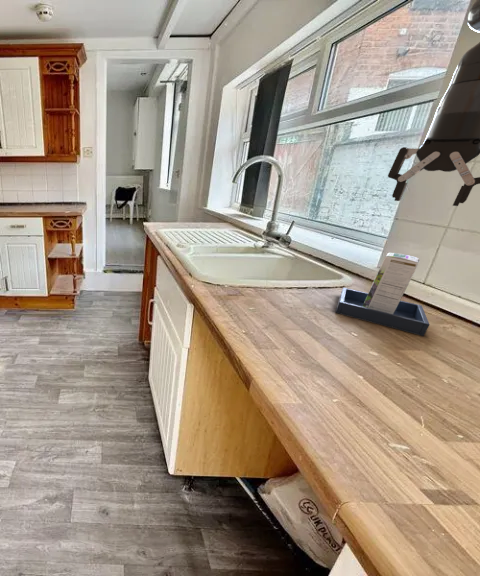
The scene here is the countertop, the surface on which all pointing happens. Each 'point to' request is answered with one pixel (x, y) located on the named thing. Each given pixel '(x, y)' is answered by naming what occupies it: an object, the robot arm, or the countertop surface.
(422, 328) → the tray
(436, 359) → the countertop surface
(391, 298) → the syrup box
